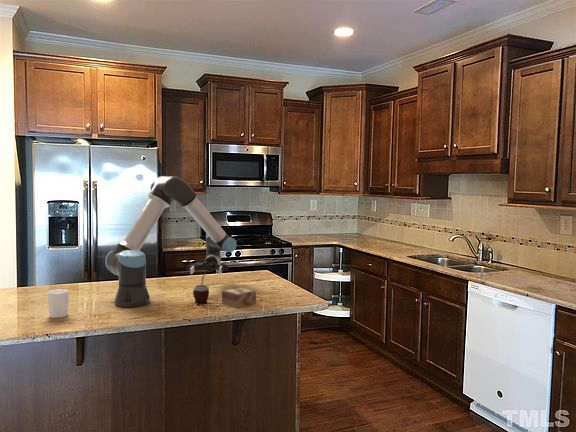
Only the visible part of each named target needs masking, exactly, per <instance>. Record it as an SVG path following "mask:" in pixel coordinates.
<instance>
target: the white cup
mask: <svg viewBox="0 0 576 432" xmlns="http://www.w3.org/2000/svg"><path fill="white" fill-rule="evenodd" d="M69 293H70V291H69V289H54V290H53V289H52V290H49V291H47V292H46V294H47V305H48V308H47V309H48V316H49V318H53V319H59V318H64V317H67V316H68V314H69V303H70V302H69V300H70V299H69V295H70V294H69Z"/></svg>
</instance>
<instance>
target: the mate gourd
mask: <svg viewBox="0 0 576 432" xmlns="http://www.w3.org/2000/svg"><path fill="white" fill-rule="evenodd" d="M205 275H206V273H204V274H202V277H201V283H200V284H199V285H195V287H194V288H193V292H192V295H193V298H194V301H195V302H194V303H195V304H196V306H201V305H208V299H209V294H210V291H209V287H208V286H207V285H206V284H205V285H204V284H203V282H204V278H205Z"/></svg>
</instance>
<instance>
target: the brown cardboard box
mask: <svg viewBox="0 0 576 432" xmlns="http://www.w3.org/2000/svg"><path fill="white" fill-rule="evenodd" d="M221 305H225V306H228V307H232V308H234V309H236V310H237V309H242V308H245V307H250V306H254V305H257V291H256V290H253V289H249V288H245V287H241V286H239V287H236V288H235V287H233V288H230V289H229V288H228V289H225V290H221Z"/></svg>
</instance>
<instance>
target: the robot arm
mask: <svg viewBox="0 0 576 432" xmlns="http://www.w3.org/2000/svg"><path fill="white" fill-rule="evenodd" d="M149 188H150V192H149V193H148V194H147V196H148V201H147V202H146V204H145V205H144V207H143V209H142V210H141V212H140V213H139V216H138V217H137V219H136V220H135V222H134V223H133V225H132V226H131V229H130V230H129V232H128V233H127V235H126V237H125V238H124V239H123V241H121V242H118V243H117V245H116V246H115V248H114V249H112V250H110V251H109V252H108V253H107V255H106V257H105V260H104V262H105V267H106V269H107V270H108V271H109V273H111V274H112V275H115V276H117V277H118V288H117V291H116V294H115V298H114V306H116V307H119V308H137V307H138V308H139V307H143V306H144V307H145V306H147V305H148V304H150V303H151V302H150V301H151V297H150V294H149V291H148V289H147V281H146V280H147V271H146V270H147V269H146V268H147V259H146V254H145V253H144V252H143V251H141V248H142V247H143V245H144V244H145V242H146V241H147V239H148V237H149V235H150V233H151V232H152V230H153V228H154V227H155V225H156V224H157V222H158V220H159V218H160V217H161V215H162V213H163V212H164V210H165V209H167V208H169V207H170V206H171V205H172V203H173V201H174V203H175V202H176V203H177V204H178V205H179V206H180V207H181V208H184V209H185V210H186V211H187V212H188V213H189V214H190V216H191V217H192V218H193V219H194V220H195V221H196V223H197V224H198V225H199V226H200V227H201V228H202V229H203V231H204V232H205V247H206V251H205V253H206V257H205V258H204V260H203V262H195V263H191V264H189V265H187V266H186V271H187V272H189V273H190V275H193V274H194V273H195V271H200V270H201V271H207V272H214V271H216V270H217V271H218V275H221V274H222V272H228V271H229V265H228V264H226V263H224V262H221V261H222V256H221V252H225V253H232V252H234V251H235V250H236V249H237V245H238V244H237V240H236V239H235V238H233V237H230V236H229V234H227V232H225V230H224V229H223V228H222V227H221V225H220V224H219V223H218V222H217V220H216V219H215V218H214V217H213V216H212V214H211V213H210V212H209V211H208V209H206V207H205V206H204V205H203V204H202V203H201V201H200V199H198V195H197V192H196V191H194V189H193V188H192V187H191V185H189V183H188V182H187V181H185V180H184V179H183V178H181V177H179V176H176V175H171V176H168V175H161V176H158V177H156V178H155V179H154V180H152V182H151V184H150V187H149Z"/></svg>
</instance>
